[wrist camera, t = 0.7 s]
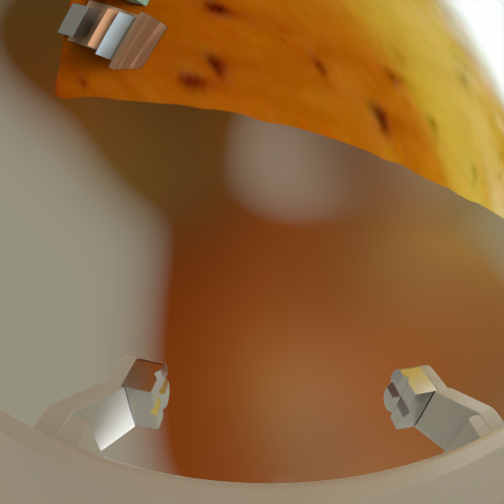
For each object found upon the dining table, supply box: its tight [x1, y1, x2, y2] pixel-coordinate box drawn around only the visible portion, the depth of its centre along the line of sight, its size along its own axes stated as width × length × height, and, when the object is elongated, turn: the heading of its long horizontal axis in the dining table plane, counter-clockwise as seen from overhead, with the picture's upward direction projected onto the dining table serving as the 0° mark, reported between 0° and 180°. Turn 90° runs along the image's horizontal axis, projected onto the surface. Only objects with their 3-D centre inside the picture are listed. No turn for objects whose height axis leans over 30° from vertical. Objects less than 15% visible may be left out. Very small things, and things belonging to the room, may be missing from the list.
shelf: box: [67, 0, 168, 70], centre depth 29 cm, size 18×9×14 cm, turn 56°
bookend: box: [58, 3, 100, 38], centre depth 29 cm, size 4×6×5 cm, turn 146°
